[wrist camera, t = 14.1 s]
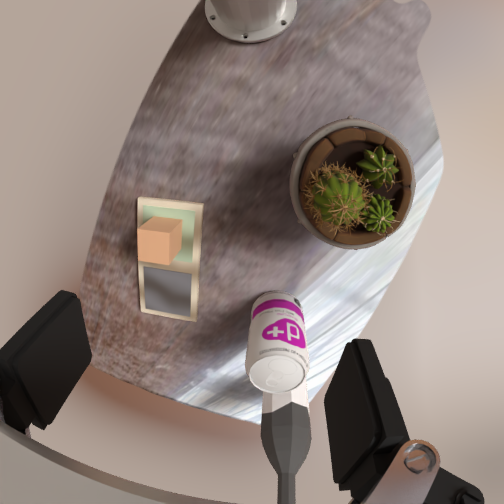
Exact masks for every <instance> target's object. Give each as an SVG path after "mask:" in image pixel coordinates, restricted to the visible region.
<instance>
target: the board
mask: <svg viewBox="0 0 504 504" xmlns="http://www.w3.org/2000/svg"><path fill="white" fill-rule="evenodd" d="M203 211H204V203H196V202H188V201H179V200H170V199H160V198H150V197H139V198H138V219H137V225H138V228H139V227H140V226H142V225H143V224H144V223H145V222H147V221H148V220H149V219H151V218H152V217H153V216H157V217H166V218H174V219H182V220H183V221H182V244H181V250H180V251H179V252H178V254H177V255H176V256H175V258H174V259H173V261H172V262H171V263H170V265H163V264H157V263H151V262H144V261H138V269H139V289H140V304H141V312H146V313H151V314H156V315H161V316H166V317H171V318H176V319H182V320H187V321H193V322H196V321H197V314H198V290H199V271H200V254H201V238H202V224H203Z"/></svg>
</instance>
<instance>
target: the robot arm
mask: <svg viewBox="0 0 504 504" xmlns="http://www.w3.org/2000/svg"><path fill="white" fill-rule="evenodd" d="M296 10H297V1H296V0H206V1H205V14H206V17H207V19H208V22H209V23H210V25H211V26H212V27H213V28H214V30H215V31H216V32H218V33H219V34H221V35H222V36H224V37H226V38H228V39H230V40H234V41H237V42H244V43H256V42H262V41H266V40H269V39H272V38H274V37H276V36H278V35H280V34H281V33H283V32H284V31H285V30H286V29H287V28H288V27H289V26H290V25H291V24H292V22H293V20H294V18H295V15H296ZM214 18H215V20H213V19H214ZM281 24H285V25H281ZM245 36H247V38H246V39H244V37H245ZM91 358H92V353H91V349H90V345H89V341H88V337H87V332H86V328H85V323H84V318H83V313H82V308H81V303H80V300H79V299H78V298H77V296H76V294H74V293H72V292H68V291H64V290H61V291H59V292H58V293H57V294H56V295H55V296H54V297H53V298H52V299H51V300H49V301H48V302H47V303H46V304H45V305H44V306H43V307H42V308H41V309H40V310H39V311H38V312H37V313H36V314H35V315H34V316H33V317H32V318H31V319H30V320H28V321H27V322H26V323H25V325H23V326H22V328H21V329H19V330H18V332H16V334H15V335H14V336H13V337H12V338H11V339H10V340H9V341H8V342H7V343H6V344H5V345H4V346H3V347H2V348H1V349H0V504H236V503H228V502H221V501H214V500H208V499H202V498H196V497H191V496H186V495H182V494H177V493H172V492H168V491H164V490H160V489H156V488H153V487H149V486H146V485H142V484H139V483H135V482H132V481H128V480H126V479H123V478H119V477H117V476H114V475H111V474H108V473H106V472H103V471H100V470H98V469H95V468H93V467H90V466H88V465H85V464H83V463H80V462H78V461H76V460H74V459H71V458H69V457H67V456H65V455H63V454H60V453H58V452H56V451H54V450H52V449H50V448H48V447H46V446H44V445H42V444H41V443H39V442H37V441H35V440H33V439H31V435H30V430H29V425H30V424H31V422H32V424H33V425H35V426H37V427H38V428H40V429H43V430H45V428H46V426H47V425H50V424H51V423H52V422H53V420H54V419H55V417H56V415H57V414H58V412H59V410H60V409H61V407H62V405H63V404H64V402H65V401H66V399H67V397H68V396H69V394H70V393H71V391H72V390H73V388H74V386H75V385H76V383H77V382H78V380H79V379H80V377H81V376H82V374H83V373H84V371H85V370H86V368H87V367H88V365H89V364H90V362H91ZM324 406H325V414H326V421H327V429H328V436H329V445H330V453H331V462H332V471H333V480H334V482H335V483H339V490H340V491H344V490H350V491H351V497H353V498H352V500H351V501H350V502H349V503H348V504H484V497H483V494H482V493H481V491H480V490H479V489H478V488H477V487H475V486H474V485H472V484H470V483H468V482H466V481H464V480H462V479H460V478H458V477H457V476H455V475H453V474H451V473H449V472H448V471H446V470H444V469H443V468H441V467H440V456H439V453H438V451H437V450H436V448H435V447H434V446H433V445H432V444H430V443H429V442H426V441H424V440H416V439H415V440H410V438H409V435H408V432H407V429H406V426H405V423H404V420H403V417H402V414H401V411H400V408H399V406H398V403H397V400H396V397H395V394H394V392H393V389H392V386H391V384H390V382H389V380H388V379H387V378H386V377H385V375H384V373H383V370H382V367H381V365H380V362H379V360H378V357H377V354H376V352H375V349H374V347H373V344H372V342H371V340H368V339H353V340H352V342H351V343H350V342H348V343H347V344H346V346H345V348H344V351H343V354H342V356H341V359H340V361H339V364H338V366H337V369H336V371H335V374H334V376H333V378H332V381H331V383H330V385H329V387H328V390H327V392H326V394H325V399H324Z"/></svg>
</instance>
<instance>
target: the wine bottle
mask: <svg viewBox="0 0 504 504" xmlns="http://www.w3.org/2000/svg"><path fill="white" fill-rule="evenodd" d="M261 439H262V444H263V447H264V450H265V452H266V455H267V457H268V459H269V461H270V463H271V465H272V466H273V468H274V469H275V471H276V473H277V474H278V502H277V503H278V504H295V475H296V474H297V472H298V470H299V468H300V467H301V465H302V464H303V462H304V461H305V459H306V456H307V454H308V451H309V448H310V443H311V428H310V415H309V404H308V393H307V383H306V377H305V379H304V381H303V383H302V384H301V385H300V386H299V387H298V388H296V389H294V390H292V391H290V392H286V393H280V394H277V393H268V392H264V391H263V403H262V421H261Z"/></svg>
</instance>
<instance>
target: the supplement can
mask: <svg viewBox="0 0 504 504" xmlns="http://www.w3.org/2000/svg"><path fill="white" fill-rule="evenodd" d="M245 368H246V373H247V375H248V376H249V377H250V381H251V382H252V383H253V385H254V386H255V387H257V388H258V389H260V390H261V391H264V392H268V393H277V394H280V393H286V392H290V391H292V390H294V389H296V388H298V387H299V386H300V385H301V384H302V383H303V381H304V379H305V377H306V375H307V373H308V371H309V369H310V367H309V354H308V347H307V339H306V332H305V325H304V318H303V311H302V306H301V304H300V302H299V300H298V299H297V298H295V297H294V296H293V295H292V294H289V293H287V292H284V291H272V292H268V293H265V294H263V295H262V296H260V297H258V299H257V300H256V301H255V302H254V304H253V307H252V311H251V319H250V327H249V335H248V344H247V352H246V360H245Z"/></svg>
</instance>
